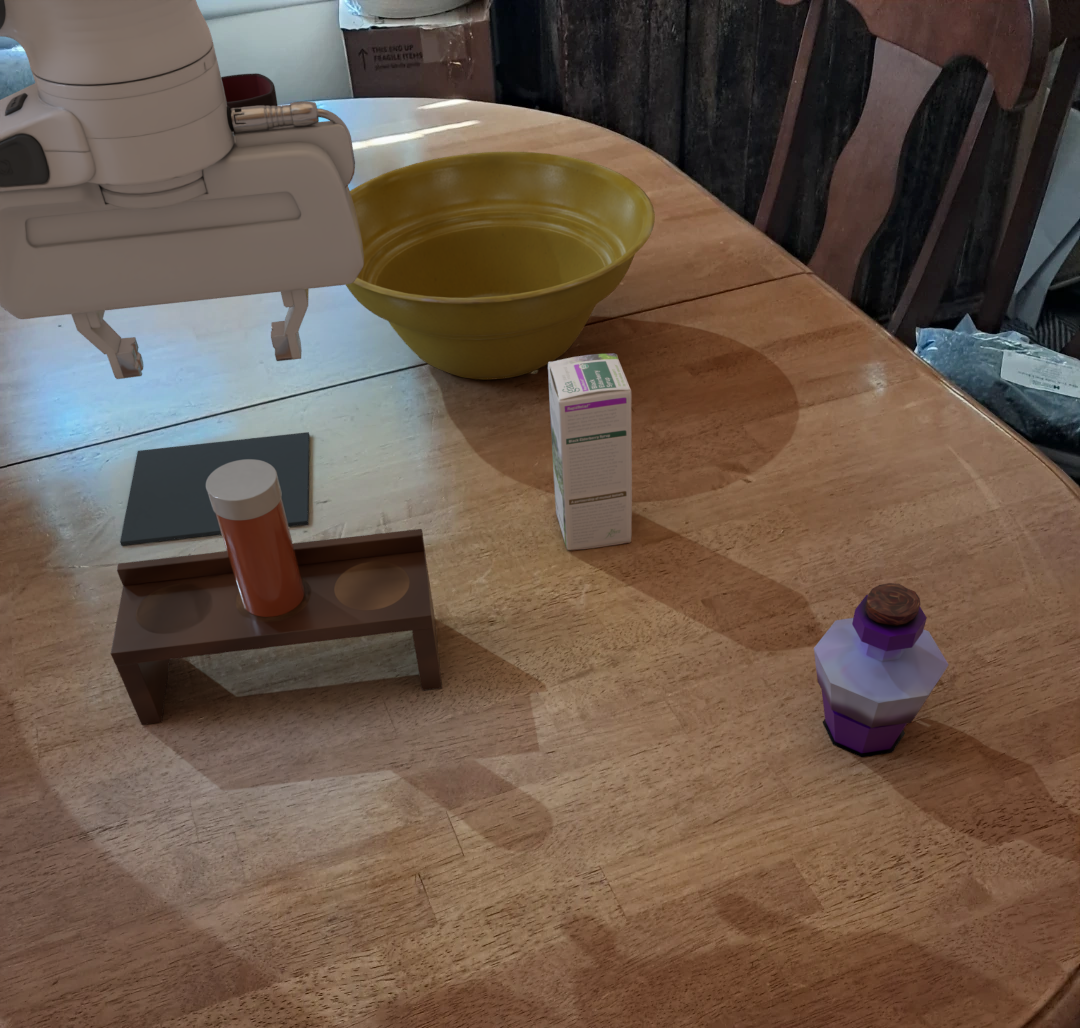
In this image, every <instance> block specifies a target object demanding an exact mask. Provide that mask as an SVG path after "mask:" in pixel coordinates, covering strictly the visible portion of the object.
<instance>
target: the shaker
mask: <svg viewBox="0 0 1080 1028" xmlns="http://www.w3.org/2000/svg"><path fill="white" fill-rule="evenodd" d="M206 490H207V493H208V496H209V499H210V503H211V506H212V509H213V511H214V512H215V514H216V517H217V520H218V524H219V527H220V530H221V534H220V535H221V536H222V540H223V543H224V546H225V551H227V553H228V557H229V560H230V563H231V567H232V570H233V573H234V576H235V580H236V583H237V586H238V590H239V593H240V596H241V599H242V603H243V606H244V607H245V609H246V610H247V611H248V612H250V613H251V614H253V615H256V616H261V617H274V616H279V615H283V614H285V613H288V612H290V611H292V610H293V609H295V608H296V607H297V606H298V605H299V604H300V603H301V601H302V600H303V597H304V593H305V592H304V587H303V583H302V579H301V575H300V571H299V567H298V563H297V559H296V555H295V551H294V547H293V543H294V542H293V540H292V535H291V531H290V526H288V522H287V518H286V514H285V510H284V506H283V502H282V498H281V496H282V492H281V488H280V484H279V480H278V476H277V472H276V470H275V468H274V467H273V466H272V465H270V464H269V463H267V462H264V461H261V460H254V459H245V460H238V461H233V462H230V463H227V464H225V465H223V466H221V467H219V468H217V469H216V470H214V471H213V472H212V473H211V474H210V475H209V477H208V479H207V481H206Z"/></svg>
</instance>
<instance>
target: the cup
mask: <svg viewBox="0 0 1080 1028" xmlns="http://www.w3.org/2000/svg"><path fill="white" fill-rule="evenodd" d="M221 79H222V83H223V88H224V92H225V97H226V101H227V106H229V108H236V107H249V106H270V107H271V106H276V107H277V106H279V105H278V99H277V93H276V86H275V83H274V82H273V81H272V80H271V79H270V78H269V77H267V76H266V75H264V74H261V73H240V74H239V73H238V74H231V75H224V76H221ZM233 132H234V136H235V131H233Z"/></svg>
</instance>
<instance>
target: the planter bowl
mask: <svg viewBox="0 0 1080 1028" xmlns="http://www.w3.org/2000/svg"><path fill="white" fill-rule="evenodd" d="M350 193H351V197H352V200H353V204H354V207H355V211H356V215H357V219H358V224H359V228H360V233H361V238H362V244H363V253H364V266H363V268H362V270H361V272H360V273H359V275H358V276H357V278H356V279H355V281H354V282H353V283H351V284H347V285H345V287H346V288H347V289H348V291H349V292H350V293H351V294H352V296H353V297H354V298H355V300H356V301H357V302H358V303H359V304H361V306H363V307H364V308H365V309H367V310H368V311H369V312H370V313H372V314H374V315H375V316H377V317H378V318H381V319H383V320H384V321H387V322H388V323H389V325H390V326H391V328H392V329H393V330H394V331H395V333H396V334H397V335H398V336H399V338H400V339H401V340H402V341H403V342H404V344H406V346H407V347H408V348H409V349H410V350H411V351H412V352H413V353H414V354H415V355H416V356H417V357H418V358H419V359H421V360H422V361H423V362H425V363H426V364H428V365H429V366H431V367H433V368H435V369H437V370H440V371H442V372H446V373H448V374H451V375H453V376H455V377H456V376H457V377H460V378H465V379H470V380H484V381H485V380H487V381H488V380H502V379H510V378H514V377H515V378H516V377H519V376H523V375H525V374H529V373H532V372H534V371H536V370H539V369H541V368H543V367H545V366H547V365H548V362H553V361H556V359H558V358H559V357H561V356H563V354H565V353H566V352H567V351H568V350H569V349H570V348H571V347H572V346H573V344H574V343H575V342H576V340H577V339H578V337H579V336H580V334H581V333H582V331H583V329H584V328H585V326H586V325H587V322H588V321H589V319H590V317H591V316H592V314H593V312H594V309H595V307H596V305H597V304H599V303H600V302H601V301H603V300H605V299H606V298H607V297H608V296H609V295H611V294H612V293H613V292H614V291H615V290H616V289H617V288H618V286H619V285H620V284H621V282H622V281H623V279H625V276H626V275H627V273H628V272H629V269H630V267H631V265H632V262H633V261H634V258H635V255H636V254H637V253H638V251H640V250H641V249H642V248H643V247H644V245H645V244H646V243H647V241H648V240H649V238H650V236H651V235H652V233H653V231H654V227H655V222H656V221H655V220H656V212H655V209H654V205H653V203H652V201H651V198H650V197H649V196H648V194H647V193H646V192H645V190H643V189H642V188H641V186H639V185H638V184H637V183H636V182H634V180H632V179H630V178H629V177H627V176H626V175H624V174H622V173H621V172H618V171H616V170H614V169H612V168H609V167H607V166H604V165H601V164H598V163H595V162H592V161H589V160H585V159H581V158H577V157H572V156H567V155H561V154H554V153H546V152H534V151H533V152H531V151H530V152H529V151H484V152H471V153H464V154H456V155H449V156H444V157H437V158H433V159H428V160H424V161H420V162H415V163H412V164H409V165H406V166H402V167H399V168H395V169H393V170H390V171H388V172H385V173H382V174H380V175H377V176H376V177H373V178H370V179H368V180H367V181H365V182H363V183H361V184H360V185H358V186H356V187H354V188H352V189H350Z"/></svg>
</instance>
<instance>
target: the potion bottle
mask: <svg viewBox="0 0 1080 1028" xmlns="http://www.w3.org/2000/svg"><path fill="white" fill-rule="evenodd" d="M920 598H921V597H920V596H919V595H918V594H917V592H916V591H915V590H912V589H910V588H908V587H906V586H904V585H902V584H901V583H895V582H888V583H883V584H878V585H876V586H874V587H872V588H871V589H870V591H869V593H868V594H866V595H865V596H864V597H863V599H862V600H861V601H860V602H859V603H858V605H857V606H856V608H855V609H854V613H853V617H849V618H842V619H836V620H835V621H833V623H832V624H831V626H830V627H829V629H827V631H826V632H825V633H824V634H823V636H822V637H821V638H820V640H819V641H818V642H817V643H816V644H815V646H814V647H813V653H814V662H815V671H816V679H817V684H818V686H819V687H820V689H821V696H822V705H823V713H824V719H823V721H822V724H823V726H824V729H825V731H826V733H827V735H828V737H829V740H830V741H831V744H832V745H833V746H835V747H837V748H840V749H841V750H845V751H847V752H849V753H850V754H853V755H856V756H858V757H860V758H866V757H872V756H880V755H886V754H893V753H894V751H895V749H896V748H897V746H898V745H899V743H900V742H901V740H902V739H903V737H904V736H905V734H906V732H905V731H904V729H905V727H906V726H907V724H912V723H913V721H914V719H915V718H916V716H917V715H918V713H919V712H920V710H921V709H922V707H923V705H924V704H925V702H926V701H927V700H928V698H929V696H930V695H931V694H932V692H933V690H934V689H935V687H936V686H937V684H938V683H939V681H940V679H941V678H942V676H943V674H944V673H945V672H946V670H947V668H948V667H949V663H948V661H947V659H946V658H945V656H944V655H943V652H942V651H941V650H940V647H939V645H938V644H937V643H936V641H935V639H934V638H933V636H932V634H931V633H930V630H926V629H925V626H926V622H927V616H926V614H925V612H924V611H923V609H922V608H921V604H922V603H921V599H920Z"/></svg>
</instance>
